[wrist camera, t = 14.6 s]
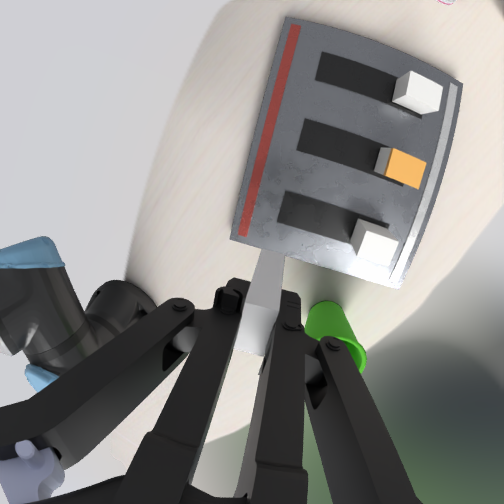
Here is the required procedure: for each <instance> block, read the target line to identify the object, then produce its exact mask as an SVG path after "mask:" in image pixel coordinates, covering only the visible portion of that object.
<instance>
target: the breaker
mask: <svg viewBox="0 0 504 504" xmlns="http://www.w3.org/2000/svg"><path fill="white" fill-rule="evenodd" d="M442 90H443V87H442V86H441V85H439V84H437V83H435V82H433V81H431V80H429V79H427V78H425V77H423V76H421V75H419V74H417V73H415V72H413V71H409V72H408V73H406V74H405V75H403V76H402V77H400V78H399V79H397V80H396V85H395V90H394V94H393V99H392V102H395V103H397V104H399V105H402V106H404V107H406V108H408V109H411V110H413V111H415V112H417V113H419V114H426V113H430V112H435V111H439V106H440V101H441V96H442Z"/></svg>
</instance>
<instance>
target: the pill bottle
mask: <svg viewBox="0 0 504 504" xmlns="http://www.w3.org/2000/svg"><path fill="white" fill-rule="evenodd" d="M436 1H437V2H439V3H441V4H444V5H451V4H453V3H454V2H455V1H456V0H436Z"/></svg>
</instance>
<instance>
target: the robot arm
mask: <svg viewBox="0 0 504 504" xmlns="http://www.w3.org/2000/svg"><path fill="white" fill-rule="evenodd" d="M284 261H285V254H281V253H278V252H274V251H270V250H266V249H262V250H261V253H260V256H259V259H258V262H257V266H256V269H255V272H254V275H253V278H252V281H251V282H249V281H245V280H242V279H238V278H232V279H231V280H229V281H228V283H227V285H226V287H220V288H218V289H217V290H216V293H215V298H214V304H213V307H212V308H211V309H207V310H199V309H195V306H194V305H193V303H192V302H190V301H189V300H187V299H184V298H171V299H169V300H167V301H166V302H164V303H163V304H161V305H160V306H159V307H156V306H155V304H154V303H153V301H152V300H151V299H150V298H149V297H148V296H147V295H146V294H145V293H144V292H143V291H142V290H140V289H139V288H137V287H136V286H134V285H132V284H130V283H128V282H125V281H121V280H111V281H108V282H106V283H104V284H103V285H102V286H100V287H99V288H98V289H97V290H96V291H95V292H94V294H93V296H92V297H91V299H90V301H89V303H88V305H87V307H86V310H85V311H84V310H83V308H82V306H81V304H80V302H79V300H78V298H77V295H76V293H75V291H74V289H73V286H72V284H71V282H70V279H69V277H68V275H67V272H66V270H65V267H64V266H65V263H64V262H62V260H61V258H60V256H59V253H58V251H57V248H56V246H55V244H54V242H53V241H52V240H51V239H50V238H49V237H46V236H41V237H37V238H34V239H30V240H27V241H24V242H21V243H18V244H15V245H12V246H9V247H6V248H3V249H0V353H3V354H7V355H9V356H13V355H15V354H16V353H18V352H19V351H21V350H23V352H24V353H25V355H26V357H27V358H28V360H29V362H30V364H28V365H27V366H26V369H25V376H26V377H27V380H28V382H29V383H30V384H31V386H32V387H33V388H34V389H35V390H36V391H37V392H38V393H37V394H35V395H34V396H32V397H31V398H30V399H28V400H25V401H21V402H18V403H14V404H11V405H7V406H4V407H0V483H1V486H2V488H3V490H4V493H5V495H6V497H7V499H8V502H9V504H307V493H308V473H307V471H306V470H305V469H303V467H302V456H303V454H302V453H303V433H304V432H303V431H304V402H305V403H306V406H307V410H308V414H309V417H310V421H311V424H312V428H313V431H314V435H315V439H316V443H317V446H318V450H319V453H320V457H321V461H322V465H323V468H324V472H325V475H326V479H327V483H328V487H329V490H330V494H331V498H332V502H333V504H423V503H421V501H420V500H419V499H418V498H417V497H416V495H415V493H414V490H413V488H412V485H411V483H410V481H409V478H408V476H407V473H406V471H405V469H404V466H403V464H402V462H401V460H400V457H399V455H398V453H397V450H396V448H395V446H394V444H393V441H392V439H391V437H390V435H389V433H388V430H387V428H386V426H385V424H384V422H383V420H382V417H381V415H380V413H379V411H378V409H377V407H376V405H375V403H374V400H373V399H372V396H371V394H370V392H369V390H368V388H367V386H366V384H365V382H364V380H363V378H362V376H361V374H360V372H359V370H358V368H357V366H356V364H355V362H354V360H353V358H352V356H351V354H350V352H349V350H348V348H347V346H346V344H345V343H344V342H343V341H342V340H340V339H338V338H336V337H333V336H324V337H322V338H321V339H320V341H319V340H316V339H314V338H312V337H310V336H309V335H307V334H306V333H305V329H304V326H303V325H302V324H301V298H300V297H299V295H298V294H297V293H294V292H290V291H286V290H283V289H282V280H283V271H284ZM233 349H236V350H239V351H243V352H247V353H251V354H255V355H259V356H263V357H264V359H263V362H262V365H261V368H260V370H259V373H258V375H260V377H259V382H258V388H257V393H256V398H255V403H254V408H253V413H252V419H251V424H250V428H249V433H248V439H247V443H246V448H245V453H244V457H243V463H242V467H241V472H240V476H239V481H238V485H237V488H236V491H235V494H234V496H233V498H220V497H213V496H211V495H209V494H207V493H205V492H203V491H201V490H199V489H197V488H195V487H194V486H192V485H191V483H192V480H193V477H194V473H195V470H196V467H197V464H198V461H199V458H200V455H201V452H202V448H203V445H204V442H205V439H206V436H207V433H208V430H209V427H210V423H211V420H212V417H213V414H214V411H215V408H216V404H217V401H218V398H219V395H220V392H221V388H222V385H223V382H224V379H225V376H226V372H227V369H228V366H229V363H230V359H231V356H232V352H233ZM189 352H190V354H189ZM188 354H189V356H188ZM264 354H265V356H264ZM187 356H188V358H187V360H186V362H185V364H184V366H183V368H182V370H181V372H180V374H179V377H178V379H177V381H176V383H175V385H174V387H173V389H172V391H171V393H170V395H169V397H168V399H167V401H166V403H165V405H164V408H163V410H162V412H161V414H160V416H159V418H158V420H157V422H156V424H155V426H154V428H153V430H152V431H150V432H147V433H146V435H145V436H144V438H143V440H142V441H141V444H140V446H139V448H138V450H137V452H136V454H135V456H134V458H133V460H132V462H131V464H130V466H129V468H128V470H127V472H126V474H125V475H121V476H117V477H114V478H111V479H108V480H105V481H103V482H100V483H97V484H94V485H92V486H89V487H86V488H82V489H80V490H76V491H73V492H70V493H67V494H63V495H60V496H56V497H52V498H51V494H52V492H53V491H54V490H55V489H57V488H58V487H60V486H61V485H62V483H63V482H64V478H65V473H64V470H66V469H68V468H69V467H71V466H73V465H74V464H76V463H78V462H79V461H80V460H81V459H83V458H84V457H85V456H86V455H87V454H88V453H90V452H91V451H92V450H93V449H94V448H95V447H96V446H97V445H98V444H99V443H100V442H101V441H102V440H103V439H104V438H105V437H106V436H107V435H109V434H110V433H111V432H112V431H113V430H114V429H115V428H116V427H117V426H118V425H119V424H120V423H121V422H122V421H123V420H124V419H125V418H126V417H127V416H128V415H129V414H130V413H131V412H132V411H133V410H134V409H135V408H136V407H137V406H138V405H139V404H140V403H141V402H142V401H143V400H144V399H145V398H146V397H147V396H148V395H149V394H150V393H151V392H152V391H153V390H154V389H155V388H156V387H157V386H158V385H159V384H160V383H161V382H162V381H163V380H164V379H165V378H166V377H167V376H168V375H169V374H170V373H171V372H172V371H173V370H174V369H175V368H176V367H177V366H178V365H179V364H180V363H181V362H182V361H183V360H184V359H185V358H186V357H187Z"/></svg>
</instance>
